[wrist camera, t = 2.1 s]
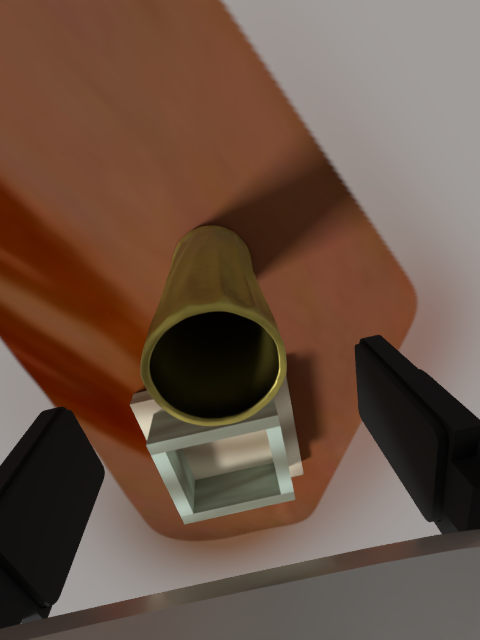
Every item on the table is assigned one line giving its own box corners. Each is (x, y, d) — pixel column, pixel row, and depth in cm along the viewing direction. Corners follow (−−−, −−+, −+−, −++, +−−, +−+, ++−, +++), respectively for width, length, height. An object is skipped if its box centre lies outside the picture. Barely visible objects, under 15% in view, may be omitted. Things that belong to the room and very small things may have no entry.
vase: (264, 245, 23) (332, 329, 10) (232, 312, 25) (254, 451, 13) (189, 210, 22) (159, 259, 9) (161, 285, 24) (105, 411, 11)
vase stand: (133, 393, 28) (119, 435, 23) (281, 359, 28) (295, 395, 23) (178, 489, 34) (173, 537, 30) (299, 462, 34) (313, 506, 29)
